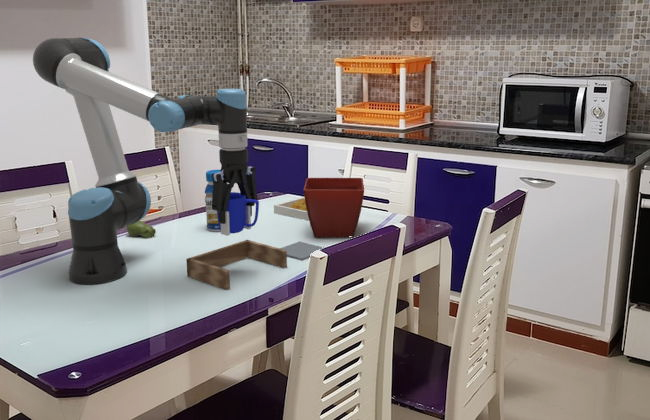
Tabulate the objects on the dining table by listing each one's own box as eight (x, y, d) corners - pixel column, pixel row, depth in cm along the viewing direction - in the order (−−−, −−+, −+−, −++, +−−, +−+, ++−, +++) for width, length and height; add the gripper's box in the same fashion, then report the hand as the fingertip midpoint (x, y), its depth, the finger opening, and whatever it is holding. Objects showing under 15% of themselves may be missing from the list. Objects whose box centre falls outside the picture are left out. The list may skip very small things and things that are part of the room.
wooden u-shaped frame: (187, 276, 180) (186, 258, 179) (247, 255, 196) (247, 239, 195) (226, 289, 170) (225, 271, 168) (287, 267, 186) (286, 250, 185)
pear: (134, 216, 221) (159, 223, 218) (133, 231, 222) (158, 238, 219) (123, 220, 216) (149, 228, 213) (122, 235, 217) (148, 243, 214)
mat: (272, 252, 199) (272, 250, 199) (299, 243, 208) (299, 241, 208) (301, 260, 191) (301, 258, 191) (328, 250, 200) (328, 248, 200)
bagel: (287, 210, 249) (286, 198, 248) (316, 208, 250) (315, 196, 249) (289, 217, 239) (289, 204, 238) (319, 215, 241) (319, 202, 240)
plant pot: (362, 224, 228) (362, 176, 223) (364, 241, 209) (364, 189, 205) (307, 224, 228) (306, 177, 224) (304, 241, 210) (303, 189, 206)
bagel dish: (274, 213, 244) (273, 205, 244) (304, 204, 257) (304, 196, 256) (310, 221, 233) (309, 212, 232) (340, 211, 245) (340, 203, 245)
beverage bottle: (235, 229, 224) (233, 171, 219) (213, 233, 219) (209, 174, 214) (224, 224, 231) (221, 167, 226) (202, 228, 226) (199, 170, 221)
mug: (254, 237, 175) (253, 201, 173) (212, 234, 178) (210, 198, 175) (264, 228, 183) (263, 193, 180) (223, 225, 186) (221, 191, 183)
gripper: (213, 154, 164) (216, 242, 170) (270, 145, 179) (271, 226, 185) (194, 151, 169) (198, 236, 175) (251, 142, 184) (253, 221, 189)
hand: (236, 231), depth 180 cm, fingers closed on mug, 7 cm apart
